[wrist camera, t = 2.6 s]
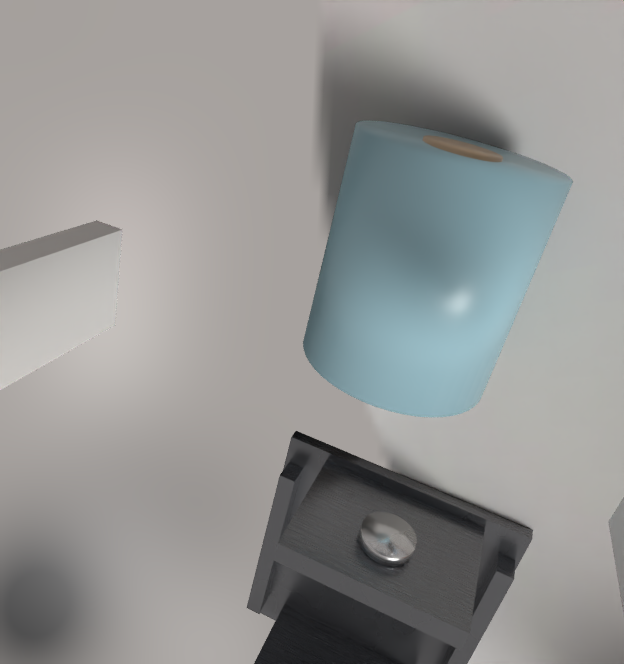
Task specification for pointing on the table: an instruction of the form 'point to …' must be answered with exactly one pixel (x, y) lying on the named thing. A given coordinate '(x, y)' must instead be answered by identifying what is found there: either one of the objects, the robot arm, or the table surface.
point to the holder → (376, 565)
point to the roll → (427, 266)
